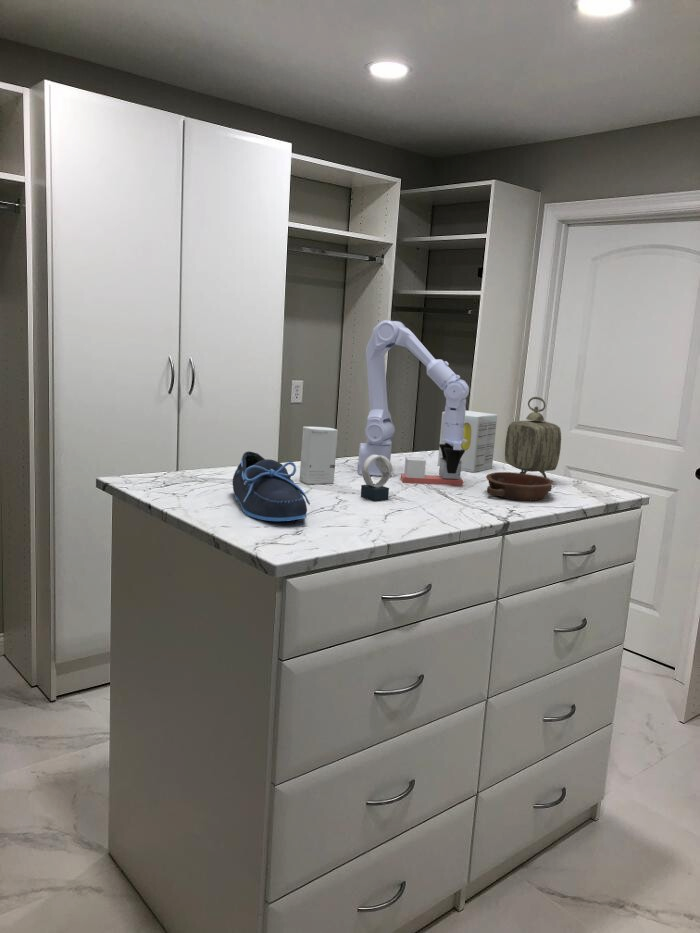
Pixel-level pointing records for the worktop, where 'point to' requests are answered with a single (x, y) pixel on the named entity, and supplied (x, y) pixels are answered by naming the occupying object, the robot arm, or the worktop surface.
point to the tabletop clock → (533, 443)
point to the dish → (518, 486)
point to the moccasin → (268, 489)
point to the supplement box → (476, 441)
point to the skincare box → (318, 455)
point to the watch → (378, 490)
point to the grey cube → (444, 472)
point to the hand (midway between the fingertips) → (449, 471)
